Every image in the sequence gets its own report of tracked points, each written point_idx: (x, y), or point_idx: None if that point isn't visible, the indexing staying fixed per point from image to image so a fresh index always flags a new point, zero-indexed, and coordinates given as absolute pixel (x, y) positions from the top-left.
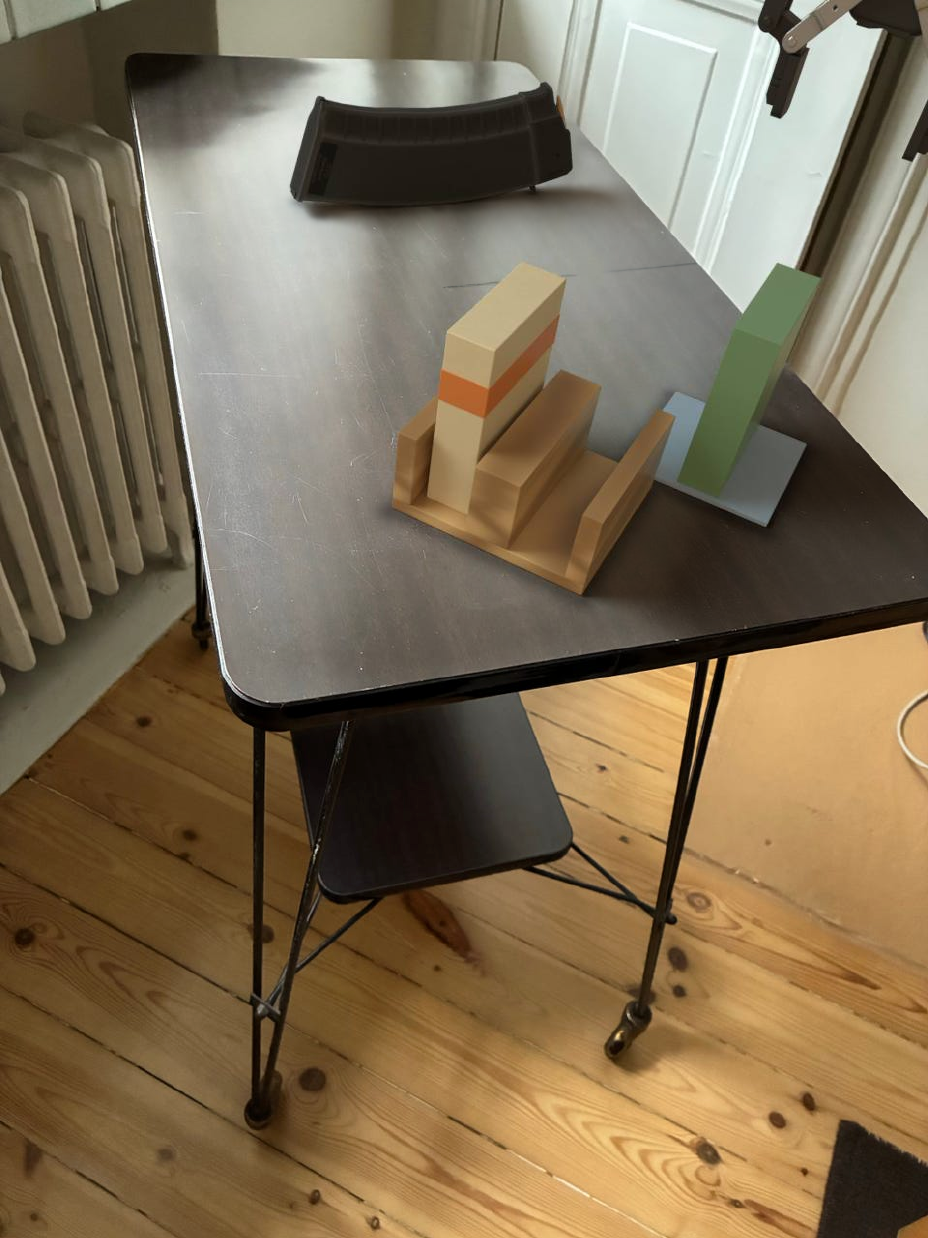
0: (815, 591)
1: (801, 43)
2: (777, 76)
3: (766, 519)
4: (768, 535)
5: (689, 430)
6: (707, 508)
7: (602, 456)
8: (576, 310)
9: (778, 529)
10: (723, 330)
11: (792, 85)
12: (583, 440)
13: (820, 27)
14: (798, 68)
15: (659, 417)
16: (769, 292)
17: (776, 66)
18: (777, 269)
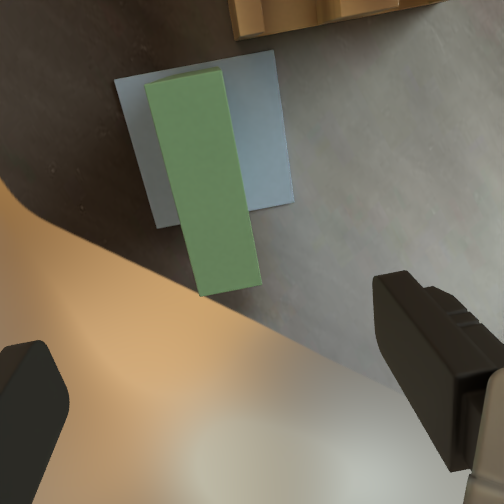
0: (22, 25)
1: (499, 404)
2: (467, 329)
3: (118, 85)
4: (106, 70)
5: (252, 155)
6: (173, 59)
7: (296, 27)
8: (435, 244)
9: (104, 88)
10: (307, 324)
11: (407, 336)
12: (321, 2)
13: (493, 481)
14: (430, 371)
15: (253, 14)
16: (231, 205)
17: (496, 344)
18: (253, 269)
